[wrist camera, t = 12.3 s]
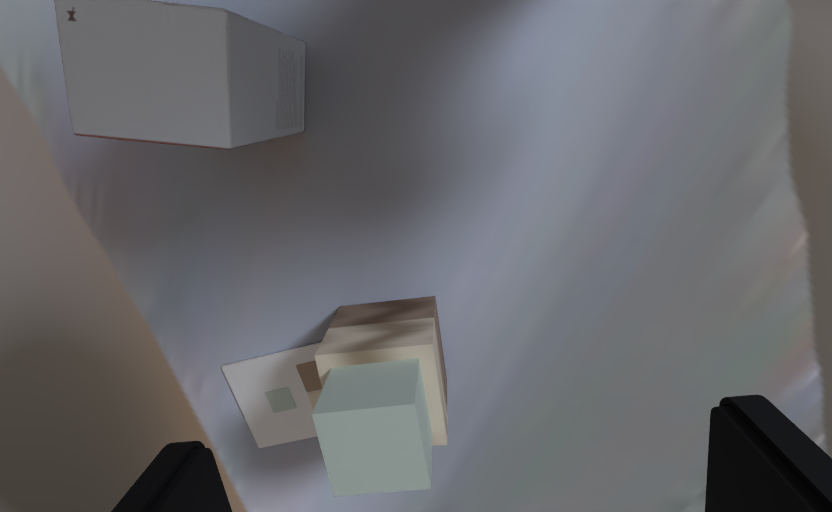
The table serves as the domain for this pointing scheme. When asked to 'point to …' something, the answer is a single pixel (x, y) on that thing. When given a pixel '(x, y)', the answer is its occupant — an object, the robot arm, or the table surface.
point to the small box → (178, 74)
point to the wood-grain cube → (391, 346)
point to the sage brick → (375, 428)
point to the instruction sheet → (277, 394)
